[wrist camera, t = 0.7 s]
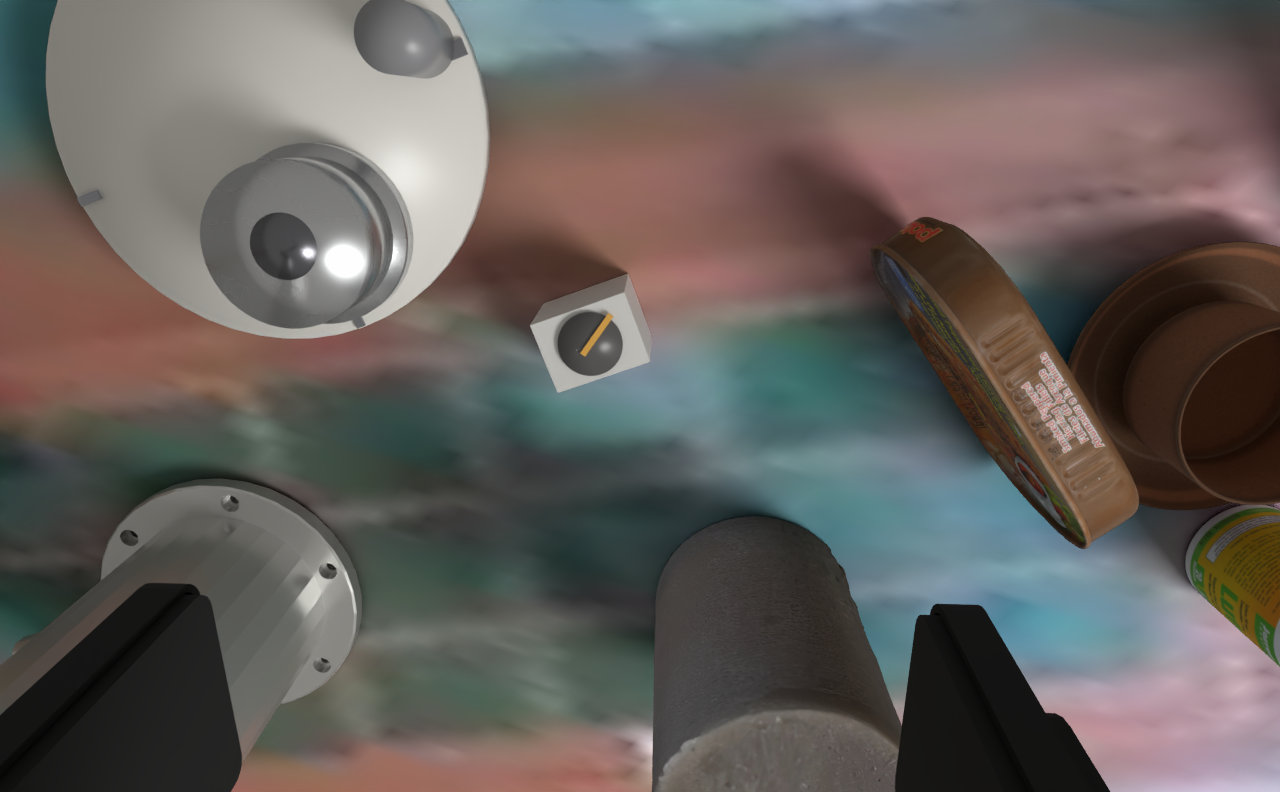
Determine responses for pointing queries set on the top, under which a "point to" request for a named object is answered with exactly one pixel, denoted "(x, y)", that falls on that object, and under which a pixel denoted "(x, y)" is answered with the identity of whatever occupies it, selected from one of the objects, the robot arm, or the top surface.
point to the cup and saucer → (1191, 376)
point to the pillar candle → (765, 669)
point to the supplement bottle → (1241, 571)
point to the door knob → (307, 236)
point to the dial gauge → (592, 333)
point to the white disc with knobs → (262, 122)
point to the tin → (1006, 377)
